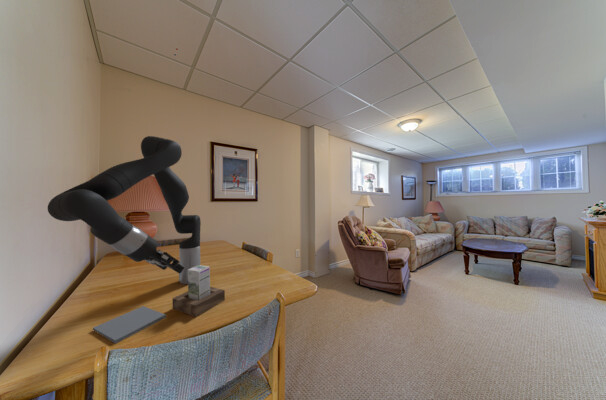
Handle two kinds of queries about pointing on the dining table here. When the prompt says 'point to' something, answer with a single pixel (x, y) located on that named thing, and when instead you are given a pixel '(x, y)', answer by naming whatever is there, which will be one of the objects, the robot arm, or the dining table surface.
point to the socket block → (198, 302)
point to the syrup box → (198, 282)
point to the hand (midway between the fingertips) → (173, 268)
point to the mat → (129, 324)
